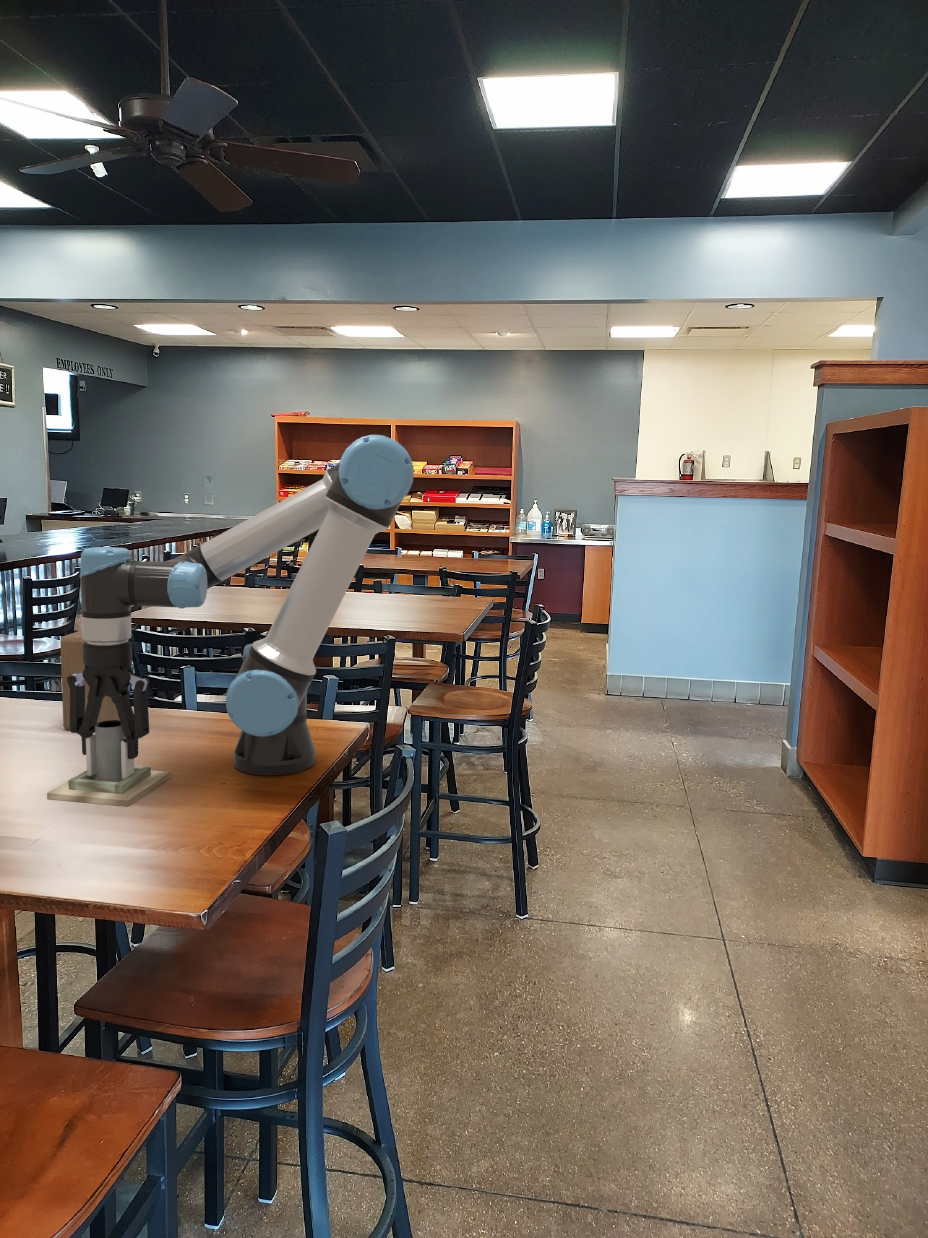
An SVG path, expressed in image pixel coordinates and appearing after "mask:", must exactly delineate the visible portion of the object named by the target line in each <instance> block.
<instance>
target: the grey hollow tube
mask: <svg viewBox="0 0 928 1238" xmlns="http://www.w3.org/2000/svg"><path fill="white" fill-rule="evenodd" d="M95 736H96V766H97V780H99V781H110V782H120V781H122V780H123V779H122V767H121V741H123V740H124V739H125V736H124V732H123V729H122V726H121V722H120V720H106V721H101V722H98V723H96V725H95Z"/></svg>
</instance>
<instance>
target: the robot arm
mask: <svg viewBox="0 0 928 1238" xmlns="http://www.w3.org/2000/svg"><path fill="white" fill-rule="evenodd" d="M339 461H340V462H339V463H337V464H336V465H334V466H332V467H330V468H328V469H327V470H325V472H324V474H323V478H322V479H320V480H318V481H316V482H315V483H313V484H311V485H308V486H306V487H305V488H303V489H301V490H299V491H298V492H296V493H294V494H293V495H291V496H289V497H287V498H285V499H283V500H281V501H279V502H278V503H275V504H274V505H272V506H270V507H268V508H266V509H265V510H263V511H261V512H259V513H257V514H256V515H253V516H252V517H251V516H250V518H248V519H246V520H245V521H242V522H240V523H239V524H237V525H235V526H233V527H231V528H229V529H227V530H226V531H224V532H222V533H221V534H218V535H217V536H215V537H213V538H211V539H210V540H207V541H205V542H204V543H202V544H199V545H198V546H196V547H195V548H192V549H191V550H189V551H186V552H185V553H183V554H181V555H179V556H177V557H176V558H173V559H169V560H166V561H141V560H133V559H132V557H131V553H130V550H129V549H128V548H125V547H111V546H106V547H105V546H99V547H98V546H94V547H88V548H85V549H84V550H83V551H81V554H80V572H79V573H80V574H79V579H80V582H79V583H80V601H81V602H80V603H81V630H82V639H83V640H85V641H86V642H85V643H84V644H83V663H84V664H85V668H84V670H83V672H82V673H76V674H73V675H70V676H68V677H67V682H68V685H69V688H70V730H69V732H70V733H72V734H77V735H79V736H80V737H81V738H80V739H81V753H82V755H83V756H85V757H86V761H85V762H86V771H87V776H92V775H94V774H96V773H97V766H96V736H95V734H94V733H95V725H96V723H97V720H98V716H99V712H100V708H101V705H102V701H103V698H104V697H105V696H108V697H111V699H112V702H113V703H115V706H116V709H117V712H118V716H119V719H120V722H121V726H122V729H123V732H124V736H125V739H124V740H123V741H121V767H122V779H125V778H127V777H128V776H130V775H131V774H133V773H134V766H135V758H137V757H138V756H139V740H140V739H142V738H144V737H145V736H148V735H149V734H150V719H149V718H150V717H149V702H148V700H149V699H148V689H149V686H150V683H151V682H150V681H151V680H150V678H148V677H144V678H142V677H139V676H136V675H135V673H134V671H133V670H132V664H133V663H132V662H133V643H132V642H131V641H130V639H131V638H132V607H155V608H156V607H158V608H159V607H160V608H178V609H186V608H200V607H201V606H203V605H204V604H205V601H206V599H207V594H208V590H209V589H211V588H213V587H215V586H216V585H218V584H220V583H221V582H223V581H225V580H227V579H229V578H230V577H232V576H235V575H236V574H238V573H241V572H242V571H244V570H246V569H247V568H249V567H251V566H253V565H255V564H257V563H258V562H260V561H262V560H264V559H266V558H268V557H270V556H271V555H273V554H276V553H277V552H279V551H281V550H282V549H285V548H286V547H288V546H290V545H292V544H294V543H296V542H298V541H299V540H302V539H304V538H305V537H307V536H309V535H311V534H313V533H315V532H316V531H318V532H317V533H316V535H315V537H314V540H313V542H312V543H311V546H310V547H309V550H308V551H307V554H306V556H305V558H304V559H303V562H302V564H301V566H300V568H299V570H298V571H297V574H296V575H295V578H294V580H293V582H292V584H291V586H290V588H289V591H288V592H287V595H286V596H285V598H284V601H283V602H282V604H281V606H280V608H279V611H278V613H277V615H276V617H275V619H274V621H273V622H272V625H271V627H270V629H269V631H268V633H267V634H266V637H264V638H262V639H259V640H256V641H253V643H249V644H246V645H245V646H244V648H243V652H242V653H243V655H242V660H243V661H242V665H241V667H240V669H239V671H238V672H237V675H236V676H235V678H234V679H233V680H232V681H231V682H230V684H229V685H228V687H227V690H226V697H225V707H226V712H227V714H228V718H230V720H231V721H232V723H233V724H234V725H235V726H236V727H237V728H238V729H239V730H240V733H239V737H238V739H237V742H236V745H235V749H234V753H233V766H234V767H235V769H237V770H239V771H240V772H243V773H247V774H250V775H251V774H252V775H257V776H282V775H283V776H285V775H290V774H295V773H300V772H303V771H306V770H308V769H310V768H312V767H313V766H314V765H315V764H316V753H317V751H316V748H315V744H314V741H313V739H312V736H311V732H310V729H309V726H308V722H307V721H308V720H307V716H308V715H307V711H308V710H307V706H308V704H307V703H308V701H307V700H308V699H307V698H308V697H307V696H308V693H307V692H308V689H309V687H310V686H311V683H312V681H313V679H314V677H315V675H316V674H317V669H316V666H315V664H314V657H315V655H316V653H317V651H318V649H319V647H320V645H321V643H322V641H323V638H325V635H326V633H327V632H328V629H329V627H330V625H331V623H332V621H333V619H334V617H335V615H336V613H337V611H338V609H339V607H340V605H341V604H342V601H343V599H344V597H345V595H346V593H347V592H348V589H349V587H350V585H351V583H352V582H353V579H354V577H355V576H356V573H357V572H358V570H359V568H360V566H361V564H362V561H363V559H364V557H365V555H366V554H367V551H368V549H369V547H370V545H371V543H372V541H373V539H374V538H375V535H377V534H378V533H381V532H385V531H387V530H388V529H389V528H390V525H391V523H392V522H393V519H394V518H395V516H396V514H397V511H398V509H399V507H400V506H401V504H402V501H403V500H404V498H405V497H406V496H407V495H408V494H409V492H410V490H411V488H412V485H413V482H414V474H415V473H414V470H415V469H414V465H413V460H412V458H411V456H410V454H409V453H408V451H407V449H406V448H405V447H404V446H403V445H402V444H401V443H400V442H398V441H397V440H395V439H394V438H390V437H388V436H386V435H382V434H381V435H380V434H369V435H366V436H361V437H360V438H357V439H356V440H354V441H352V442H351V443H350V444H349V446H348V447H347V448H345V450H344V452H343V453H342V455H341V458H340V460H339ZM85 682H87V684H88V685H89V687H90V689H89V693H88V697H87V699H88V703H87V707H86V711H85ZM130 684H131V690H133V692H132V704H133V707H132V704H131V701H130V700H131V699H130V698H131V694H130V690H129V686H130ZM119 695H121V696H119Z"/></svg>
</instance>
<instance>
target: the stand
mask: <svg viewBox="0 0 928 1238" xmlns="http://www.w3.org/2000/svg"><path fill="white" fill-rule="evenodd" d="M169 778H171V772H170V771H162V770H161V771H160V770H152V767H151V766H145V765H134V773H133V774H131V775H130V776H128V777H127V778H125V779H123V780H122V781H120V782H110V781H99V780H97V773H96V774H94V775H92V776H87V770H85V771H83V772H80V774H78V775H76V776H74V777H72V778H71V779H68V781H66V782H64V783H63V784H60V785H59V786H57V787H55V788H53V789H52V790H50V791H48V792H47V793H46V800H54V801H55V800H57V801H66V802H67V801H68V802H75V803H77V802H78V803H86V804H97V805H98V804H99V805H109V806H120V807H129V806H131V805H132V804H133V803H135V802H136V801H138V800H139V799H140V798H142V797H144V796H145V795H146V794H148V793H149V792H151V791H152V790H154V789H155V788H157V787H158V786H160V785H161V784H163V782H165V781H167V780H169Z"/></svg>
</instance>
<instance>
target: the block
mask: <svg viewBox="0 0 928 1238" xmlns="http://www.w3.org/2000/svg"><path fill="white" fill-rule="evenodd" d="M85 642H86V641H85V640H83V639H82V629H81V630H78V631H75V632H73V633H69V634H67V635H63V636H61V637H60V665H61V671H60V672H61V692H62V693H61V695H62V720H63V721H62V725H63V726H62V727H63V728H64V729H65V730H69V731H70V688H69V685H68V682H67V677H68V676H70V675H73V674H76V673H82V672H83V670H84V668H85V664H84V663H83V644H84V643H85ZM89 689H90V687H89V685H88V684H87V682H85V711H86V707H87V703H88V699H87V697H88V693H89ZM119 696H121V695H119ZM106 720H120V719H119V716H118V712H117V709H116V706H115V703H113V702H112V699H111V697H108V696H105V697H104V698H103V701H102V705H101V708H100V712H99V716H98V720H97V723H98V722H101V721H106Z"/></svg>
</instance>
